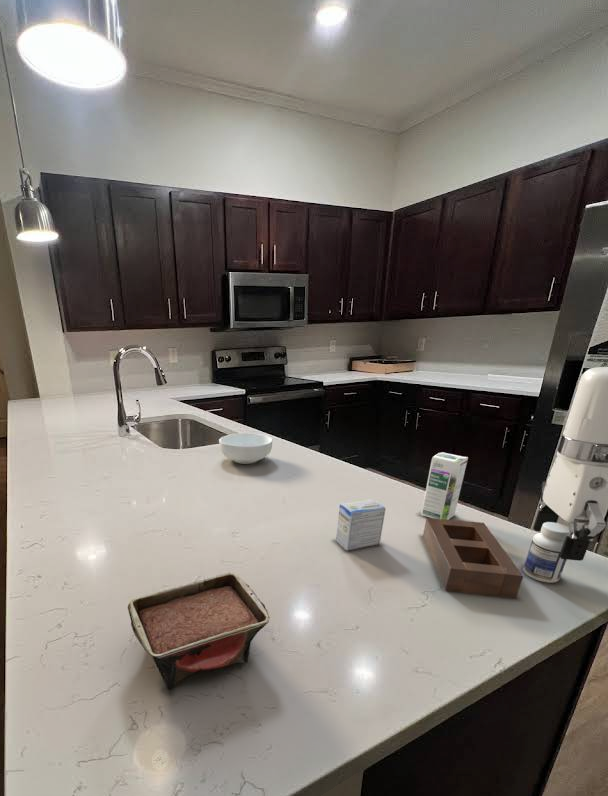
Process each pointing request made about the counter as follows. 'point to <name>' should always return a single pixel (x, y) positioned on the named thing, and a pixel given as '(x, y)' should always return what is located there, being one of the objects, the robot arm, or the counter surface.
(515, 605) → the counter surface
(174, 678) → the baking dish
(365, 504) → the medicine box
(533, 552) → the pill bottle
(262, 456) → the cereal bowl
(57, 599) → the counter surface
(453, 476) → the syrup box
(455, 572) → the holder
